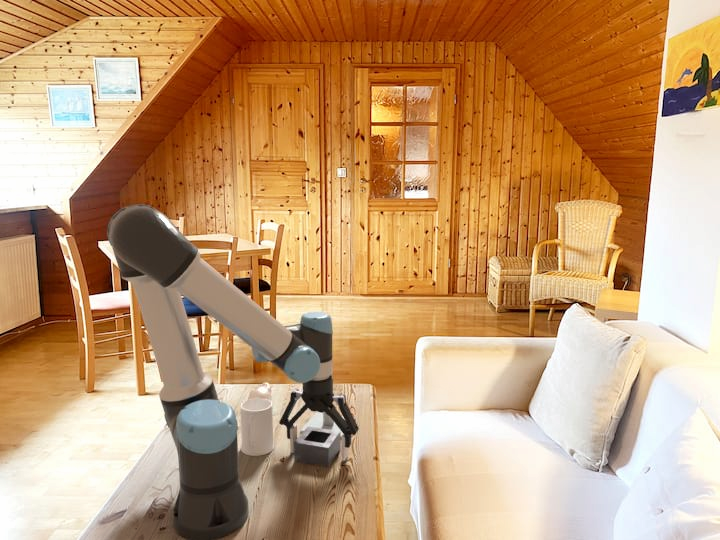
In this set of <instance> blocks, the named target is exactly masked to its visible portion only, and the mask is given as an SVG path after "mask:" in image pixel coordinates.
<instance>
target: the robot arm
mask: <svg viewBox="0 0 720 540" xmlns="http://www.w3.org/2000/svg"><path fill="white" fill-rule="evenodd" d="M106 232H107V233H106V236H107V240H108V243H109V244H110V246H111V248H112V252H113V255H114V257H115V260H116V264H117V267H118V270H119V273H120V276H121V279H123V280H125V281H127V282H129V283H130V284H131V285H132V288H133V291H134V294H135V298H136V301H137V305H138V307H139V310H140V314H141V317H142V319H143V323H144V326H145V330H146V333H147V336H148V340H149V343H150V346H151V348H152V352H153V355H154V358H155V361H156V365H157V368H158V371H159V373H160V377H161V381H162V385H163V387H162V388H161V389H160V391H159V394H158V395H159V396H158V397H159V399H160V403H161V405H162V406H161V407H162V409H163V412H164V415H163V416H164V420H165V422H166V424H167V427H168V428H169V431H170V434H171V437H172V440H173V442H174V445H175V448H176V451H177V458H178V476H179V477H178V478H179V489H178V492H177V496H176V499H175V503H174V506H173V511H172V525H173V529H174V531H175V532H176V533H177V534H178V535H179V536H181V537H183V538H186V539H188V540H216V539H219V538H223V537H225V536H228V535H230V534H232V533H234V532H235V531H237V530H238V529H240V528H241V527H242V526H243V524H245V522H246V521H247V519H248V516H249V513H250V511H249V500H248V497H247V495H246V493H245V490H244V488H243V485H242V483H241V480H240V476H239V452H238V451H239V450H238V449H239V447H238V429H239V428H238V427H239V426H238V424H239V423H238V420H237V415H236V412H235V409H234V408H233V407H232V406H231V405H230V404H228V403H227V402H224V401H220V400H219V397H218V394H217V393H218V392H217V390H216V386H215V383H214V380H213V377H212V375H211V374H208V373H206V372H204V371H203V367H202V363H201V360H200V357H199V353H198V349H197V346H196V343H195V339H194V336H193V333H192V329H191V326H190V323H189V319H188V314H187V312H186V307H185V305H184V301H183V298H182V295H183V296H184V297H185V298H187V300H189V301H190V302H192V303H193V304H194V305H196V306H197V307H198V308H199V309H200V310H202V311H203V312H204V313H206V314H207V315H209V316H210V317H211V318H213V319H214V320H215V321H216V322H217V323H219V324H220V325H222V326H223V327H224V328H226V329H227V330H228V331H229V332H230V333H232V334H234V335H235V336H236V337H238V339H240V340H241V341H243V342H244V343H245V344H247V345H248V346H249V347H250V348H251V351H252V352H251V353H252V355H253V358H254V360H255V361H256V362H258V363H264V362H265V363H269V362H270V363H271V364H272V365H274V367H277V369H279V370H280V371H281V372H283V374H285V376H287V378H288V379H290V380H292V381H293V382H295V383H299V384H302V391H299V389H298V388H295V389H294V390H292V391H291V393H290V397H289V402H288V404H287V405H286V408H285V409H284V411H283V413H282V416H281V417H280V420H279V424H280V425H281V426H285V428H286V438H287V440H290V441H289V443H290V444H289V445H290V453H291V454H294V442H295V441H296V440H297V438H298V424H295V423H296V422H297V421H298V419H299V418H300V417H302V415H304V413H305V412H306V411H307V410H310V411H311V412H313V413H314V412H318V413H323V412H325V413H326V414H327V415H328V416H330V417H331V419H332V420H333V421H334V422H335V424H336V425H337V426H338V427H339V429H340V430H341V431H342V433H343V435H342V436H341V438H340V450H341V461H342V462H345V461H346V460H347V458H348V456H349V454H348V453H349V448H350V447H351V445H352V435H353V436H355V435H356V434H357V432H358V431H359V429H360V428H359V426H358V424H357V422H356V418H355V417H354V415H353V413H352V411H351V409H350V407H349V405H348V404H347V396H346V395H345V393H343V394H341V395H334V377H333V372H334V371H333V370H334V368H333V367H334V366H333V362H334V360H333V333H334V331H333V322H332V317H331V316H330V314H328V313H327V312H323V311H320V312H319V311H310V312H306V313H303V314H302V315H301V317H300V321H299V323H296V324H291V325H283V324H282V323H281V322H280V321H278V320H277V319H276V318H274V316H272V315H271V314H270V312H269V313H268V311H266V309H264V308H262V307H261V306H260V305H259V304H258V303H257V302H255V301H254V300H253V299H251V298H250V297H249V296H248V294H246V293H244V292H243V291H242V290H241V289H240V288H238V287H237V286H236V285H235V284H234V283H232V282H231V281H230V280H229V279H227V278H226V277H225V276H224V275H223V274H222V273H220V272H219V271H218V270H216V269H215V268H214V267H213V266H211V265H210V264H209V263H208V262H207V261H205V260H204V259H203V258H201V252H200V249H199V248H198V247H197V246H195V245H194V244H193V243H192V242H191V241H190V240H189V239H187V237H186V236H185V235H184V234H183V233H182V232H181V231H180V230H179V229H178V227H177V226H176V225H175V224H174V223H173V222H172V221H171V220H170V218H168V216H166V215H165V214H164V213H163V212H161V211H159V210H158V209H157V208H155V207H153V206H151V205H148V204H141V203H138V204H131V205H127V206H125V207H123V208H121V209H119V210H118V211H117V212H116V213H115V214H113V216H112V217H111V219H110V220H109V223H108V226H107V230H106ZM299 399H301V400H302V401H303V402H304V405H303V406H302V407H301V408H300V409H299V410H298V411H297V412H296V413H295V414H294V415H293V417H291V419H289V417H290V415H291V414H292V411H293V410H294V408H295V406H296V403H297V402H298V400H299ZM333 402H335V403H336V406H338V409H339V411H340V412H339V411H338V410H337V408H336V406H335V404H334V403H333ZM329 408H330V409H329ZM342 416H343V417H344V419H345V420H344V419H343V417H342ZM354 418H355V419H354Z"/></svg>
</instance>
